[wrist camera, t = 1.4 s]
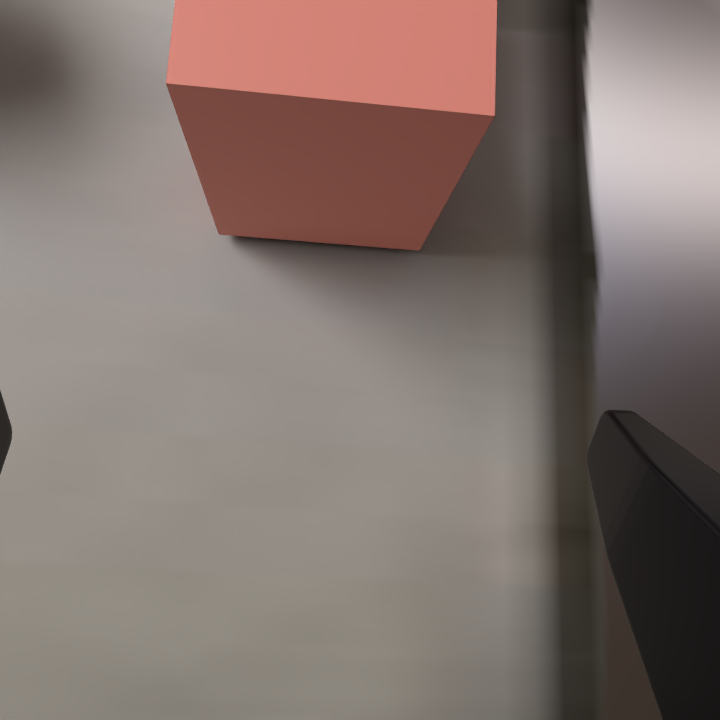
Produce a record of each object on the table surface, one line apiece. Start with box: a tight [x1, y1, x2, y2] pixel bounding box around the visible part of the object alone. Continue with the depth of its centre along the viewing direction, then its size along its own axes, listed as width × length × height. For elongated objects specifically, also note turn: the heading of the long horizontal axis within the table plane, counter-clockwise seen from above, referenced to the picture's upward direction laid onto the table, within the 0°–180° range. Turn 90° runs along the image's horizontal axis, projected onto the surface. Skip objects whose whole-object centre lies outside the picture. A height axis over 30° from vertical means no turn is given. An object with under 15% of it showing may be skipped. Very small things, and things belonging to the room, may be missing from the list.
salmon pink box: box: [166, 0, 497, 251], centre depth 19 cm, size 9×7×9 cm
